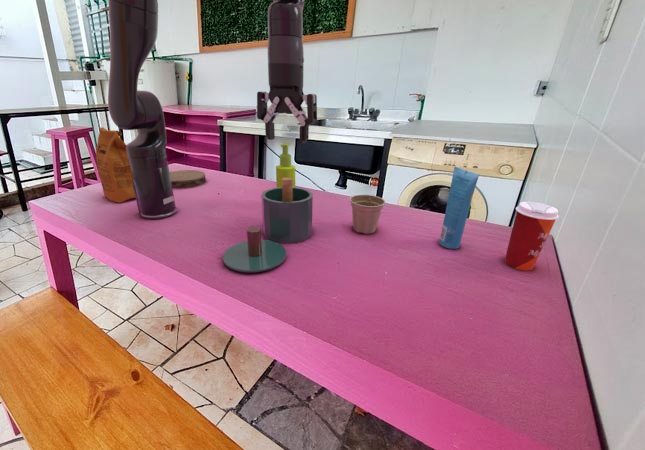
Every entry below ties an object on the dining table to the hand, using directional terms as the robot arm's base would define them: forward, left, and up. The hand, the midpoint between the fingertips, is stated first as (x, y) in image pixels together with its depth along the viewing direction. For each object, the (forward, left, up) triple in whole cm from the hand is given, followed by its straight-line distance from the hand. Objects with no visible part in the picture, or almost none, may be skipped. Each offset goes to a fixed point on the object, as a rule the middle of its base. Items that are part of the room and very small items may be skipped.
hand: (286, 141), depth 70 cm
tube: (+40, +12, -24) cm, 48 cm away
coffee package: (-62, -1, -24) cm, 66 cm away
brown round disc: (-58, +21, -24) cm, 66 cm away
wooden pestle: (0, 0, -23) cm, 23 cm away
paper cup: (+55, +9, -24) cm, 61 cm away
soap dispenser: (-10, +17, -24) cm, 31 cm away
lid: (0, -15, -23) cm, 28 cm away
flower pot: (+18, +11, -24) cm, 32 cm away
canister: (0, 0, -24) cm, 24 cm away
